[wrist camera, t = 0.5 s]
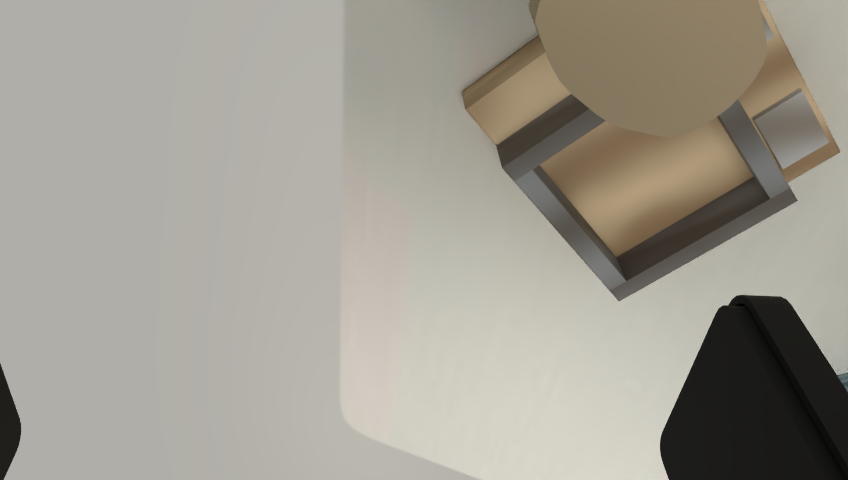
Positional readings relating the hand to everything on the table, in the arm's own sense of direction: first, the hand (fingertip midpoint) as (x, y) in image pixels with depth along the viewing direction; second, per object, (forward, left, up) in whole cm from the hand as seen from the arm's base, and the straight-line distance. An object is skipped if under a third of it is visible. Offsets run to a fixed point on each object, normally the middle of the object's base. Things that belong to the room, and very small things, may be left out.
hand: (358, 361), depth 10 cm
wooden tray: (-17, -4, -26) cm, 31 cm away
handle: (-5, -6, -26) cm, 27 cm away
